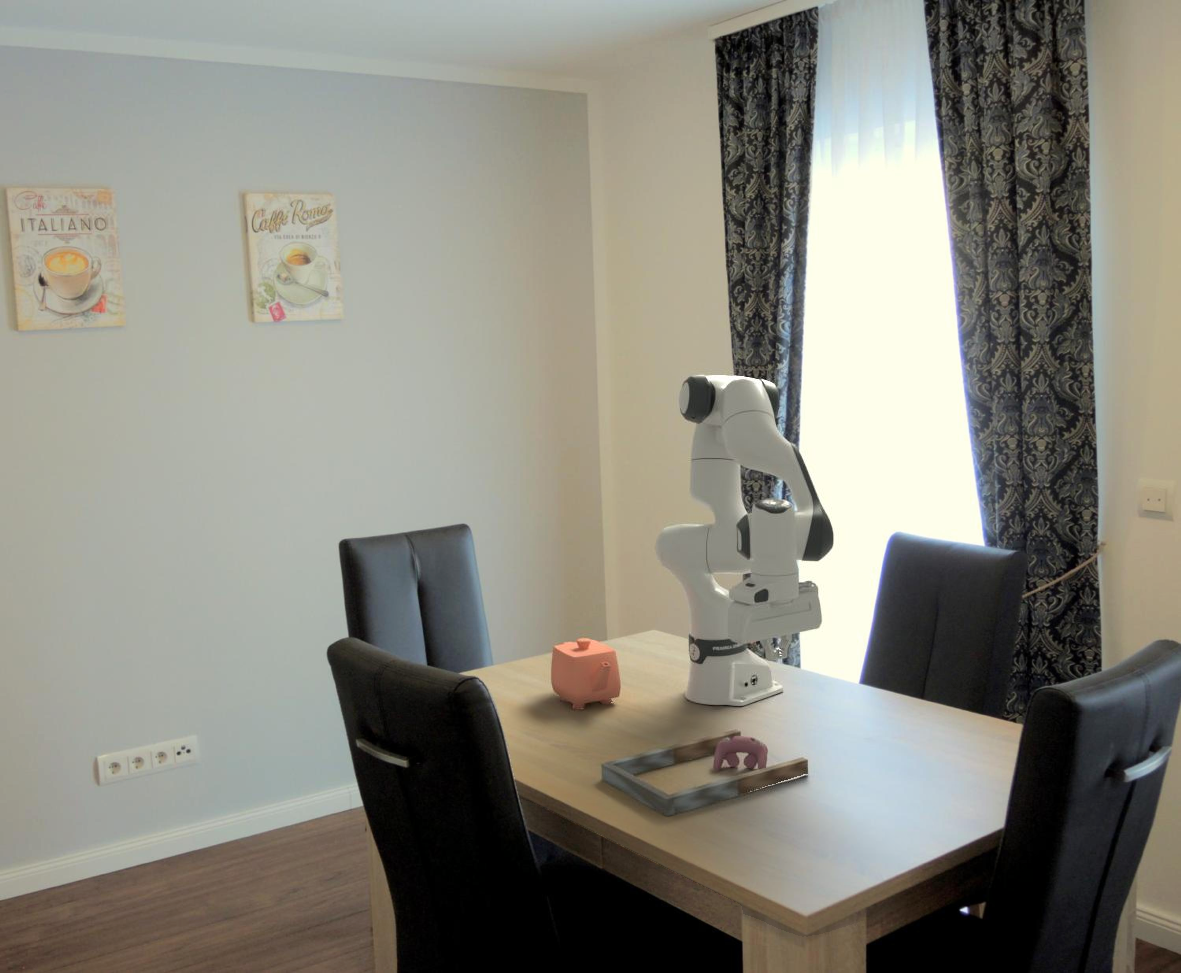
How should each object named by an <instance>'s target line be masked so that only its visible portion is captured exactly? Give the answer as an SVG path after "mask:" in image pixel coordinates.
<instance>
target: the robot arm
mask: <svg viewBox="0 0 1181 973" xmlns="http://www.w3.org/2000/svg"><path fill="white" fill-rule="evenodd" d="M780 399H781V398H780V392H779V390H778V388H777V385H775V383H773V382H771V381H768V380H765V379H763V378H758V379H757V378H752V377H746V376H739V375H705V374H698V375H696V374H695V375H691V376H689V377H687V378H685V380H684V381H683V383H682V385H681V389H680V390H679V397H678V403H679V411H680V414H681V416H682V417H683V418H684V419H685V420H686V421H688V422H691V423H694V424H696V425H695V428H694V433H693V438H692V445H691V452H690V453H691V454H690V470H689V471H690V476H689V477H690V478H689V493H690V496H691V498H692V500H693V501H695V503H697V504H698V505H700V506H702V507H703V508H705V509H707V510H709V511H711V512H712V513H713V515H714V523H679V524H675V525H670V526H665V527H664V528H663V529H662V530H661V531H660V533H659V534H658V536H657V538H656V542H655V554H656V555H655V556H656V558H657V560H658V563H659V564H660V565H661V566H662V567H663V569H665V570H667V572H669V573H670V574H671V575H672V576H673V577H674V579H676V580H677V582H678V583H679V585H680V586H681V589H682V591H683V592H684V594H685V595H684V596H685V598H686V600H687V601H686V602H687V605H688V613H689V614H688V617H689V632H690V633H689V634H688V655H689V658H690V661H689V672H688V680H687V686H686V690H685V693H684V696H685V699H687V700H689V701H690V702H693V703H698V704H703V705H712V706H713V705H714V706H723V705H724V706H725V705H727V706H736V707H742V706H746V705H749V704H751V703H754V702H757V701H760V700H763V699H766V698H769V697H771V696H774V695H777V694H780V693H782V692H784V687H783V685H782V684H780V683H779V682H777V681H776V680H774V679H773V675H772V670H771V666H770V665H769V663H768V662H772V661H776V660H777V661H778V660H782V659H786V658H788V650H789V647H790V645H791V643H792V640H793V634H797V633H803V632H807V631H809V632H810V631H813V630H818V629H820V627H821V625H822V623H823V618H822V616H823V615H822V608H821V602H820V596H819V586H818V585H817V584H816V583H815V582H813V581H812V580H806V581H802V582H801V581H800V576H799V574H800V573H799V571H800V570H799V566H798V563H797V561H801V562H819V561H821V560H822V559H824V558H825V556H827V555H828V554H829V553H830V551H831V550H832V549H833V547H834V542H835V541H834V535H835V534H834V529H833V526H832V525H833V524H832V523H831V519H830V517H829V515H828V513H827V512H826V510H825V508H824V507H823V505H822V503H821V500H820V498H819V495H818V492H817V491H816V487H815V485H814V483H813V480H812V477H811V475H810V473H809V470H808V467H807V465H806V463H805V461H804V459H803V458H804V457H803V456H802V454H801V452H800V450H799V448H798V447H797V445H796V444H795V443H793V442H790V441H788V439H787V438H785V436H783V434H781V431H780V430H779V429H778V427H777V424H776V419H777V417H778V414H779V411H780V404H781V403H780ZM741 467H744V468H746V469H749V470H752V471H757V472H762V473H765V474H768V475H772V476H774V477H776V478H778V479H780V480H782V481H783V482H784V483H785V484H786V485H787V486H788V488H789V491H790V494H791V497H792V500H793V503H794V504H795V507H796V510H795V507H794V505H793V503H792V502H790V501H788V500H786V499H782V498H773V497H771V498H770V497H769V498H763V499H759V500H758V501H756V502H755V503H753V505H752V506H751V512H750V513H748V512H747V510H746V507H745V505H744V502H743V499H742V490H741V489H742V488H741ZM713 574H718V575H719V574H721V575H724V574H725V575H745V574H750V576H748V577H747V578H745V579H743V581H741V582H740V583H737V584H736V585H735V586H734V585H733V586H732V587H731V588H730V589H729V590H728V589H726V588H724V587H722V586H721V585H719V583H717V582H716V579H715V578H714V576H713ZM775 638H779V639H780V641H779V645H778V647H776V648H773V647H772V644H773V643H774V639H775ZM755 642H760V645H761V646H762V648H763V650H764V651H765V652H764V653H765V660H764V659H763V658H762V657H760V656H759V655H757V654H756V653H754V652H753V651H752V650H751V649H750V648H748V646H747V644H751V645H752V644H754V643H755ZM767 661H768V662H767Z"/></svg>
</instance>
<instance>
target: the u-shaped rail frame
mask: <svg viewBox="0 0 1181 973" xmlns="http://www.w3.org/2000/svg"><path fill="white" fill-rule="evenodd" d="M741 733H742V732H741V731H740V730H738V729H733V730H729V731H724V732H720V733H718V734H713V735H708V736H705V737H701V738H697V739H693V740H689V741H685V742H682V743H678V744H677V743H676V744H673V745H669V746H665V747H661V748H658V749H654V750H649V751H646V752H641V753H637V754H635V755H634V754H633V755H630V756H626V757H623V758H618V759H613V760H610V761H605V762H603V763H601V765H600V766H601V780H603V781H604V782H606V783H608V784H609V785H610V786H613V787H614V788H616V789H618V790H620V791H621V792H623V793H625V794H626V795H628V796H630V797H632V798H634V799H636V800H637V801H639V802H641V803H642V804H644V805H647V806H648V807H650V808H652V809H653V810H654V811H656V812H658V813H660V814H662V815H664V816H666V817H671V816H674V815H677V814H682V813H685V812H688V811H690V810H691V811H692V810H694V809H699V808H702V807H706V806H708V805H712V804H716V803H719V802H723V801H726V800H729V799H733V798H735V797H734V796H736V797H739V796H738V795H740V796H742V795H741V794H743V795H746V794H745V793H747V794H749V793H748V792H750V791H754V790H756V789H760V788H762V787H765V786H768V785H772V784H776V783H778V782H781V781H784V780H788V779H791V778H794V777H797V776H801V775H803V774H808V775H809V759H807V758H806V757H799V758H794V759H792V760H788V761H785V762H781V763H777V764H774V765H771V766H766V768H762V769H759V770H758V769H756V770H752V771H748V772H744V773H742V774H738V775H734V776H730V777H728V778H727V777H726V778H724V779H723V778H722V779H720V780H716V781H713V782H709V783H706V784H701V785H699V786H695V787H694V786H693V787H691V788H687V789H684V790H681V791H676V792H674V793H669V794H668V793H667V792H665V791H663V790H661V789H659V788H658V787H656V786H654V785H653V784H651V783H649V782H646V781H645V780H642V779H640V778H639V777H637V776H635V775H637V774H641V773H645V771H646V772H649V771H652V770H656V769H661V768H664V767H668V766H672V765H677V764H679V763H683V762H686V761H687V762H688V761H691V760H693V759H698V758H702V757H706V756H710V755H713V754H712V753H714V754H715V751H716V748H717V745H718V743H719V742H720V741H721V740H722V739H724V738H729V737H734V736H742V734H741ZM709 754H710V755H709ZM701 756H702V757H701ZM690 759H691V760H690ZM760 790H761V789H760ZM754 792H755V791H754ZM750 793H751V792H750ZM732 797H733V798H732ZM728 798H729V799H728Z"/></svg>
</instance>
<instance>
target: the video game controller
mask: <svg viewBox="0 0 1181 973" xmlns="http://www.w3.org/2000/svg"><path fill="white" fill-rule="evenodd" d="M739 753H743V754H747V755H746V756H745V757H744V759H743V765H744V766H745V767H746V768H747V769H749V768H753V769H755V768H756V766H757V770H759V769H762V768H766V767H767V762H768V753H769V749H768V747H767V745H766V744H764V743H763V742H762V741H761V740H759V739H757V738H755V737H754V738H753V737H750V736H744V735H743V736H742V735H741V736H734V737H729V738H724V739H722V740H721V741H720V742H719V743H718V745H717V748H716V751H715V753H714V754H713V756H714V757H713V764H712V765H713V766H712V767H713V770H714V772H719V771H720V770H721V768H722V766H723V763H724V761H726V764H727V765H728V766H730V767H731V768H737V767H738V766H739V765H740V762H741V761H740V757H739V756H738V754H739Z"/></svg>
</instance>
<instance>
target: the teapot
mask: <svg viewBox="0 0 1181 973" xmlns="http://www.w3.org/2000/svg"><path fill="white" fill-rule="evenodd" d="M620 675H621V674H620V669H619V663H618V657H617V652H616V651H615V650H614V649H613V648H612V647H610V646H609V645H606V644H604V643H602V642H600V641H599V640H596V639H591V638H587V637H586V638H583V637H582V638H578V639H576V641H574V642H573V641H567V642H566V641H564V642H561V644H556V645H553V647H552V656H551V666H550V678H551V679H550V681H551V682H550V683H551V686H552V691H553V692H554V693H555V694H556V695H558V696H559V697H560V698H559V701H560V700H562V701H561V702H569V703H571V704H572V707H571V708H572V709H573V708H575V709H574V710H582V709H581V708H583V709H585V708H586V704H588V703H595V702H599V703H600V704H601V703H602V705H610V703H611V702H613V703H614V701H613V700H612V699H615V698H619V697H620V693H621V676H620ZM611 704H612V703H611ZM584 707H585V708H584Z"/></svg>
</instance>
